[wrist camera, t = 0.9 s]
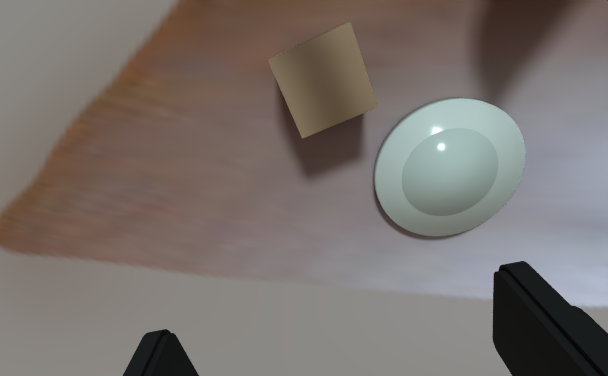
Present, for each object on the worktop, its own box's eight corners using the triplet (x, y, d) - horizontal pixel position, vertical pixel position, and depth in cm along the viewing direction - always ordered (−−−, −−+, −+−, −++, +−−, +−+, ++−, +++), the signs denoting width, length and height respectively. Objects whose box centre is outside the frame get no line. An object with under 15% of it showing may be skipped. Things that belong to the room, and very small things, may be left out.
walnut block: (340, 25, 26) (350, 21, 21) (363, 94, 29) (378, 107, 23) (274, 56, 27) (267, 60, 22) (302, 120, 30) (302, 138, 24)
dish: (506, 71, 28) (515, 72, 27) (526, 202, 33) (534, 208, 32) (354, 133, 30) (356, 137, 29) (395, 246, 36) (398, 254, 34)
